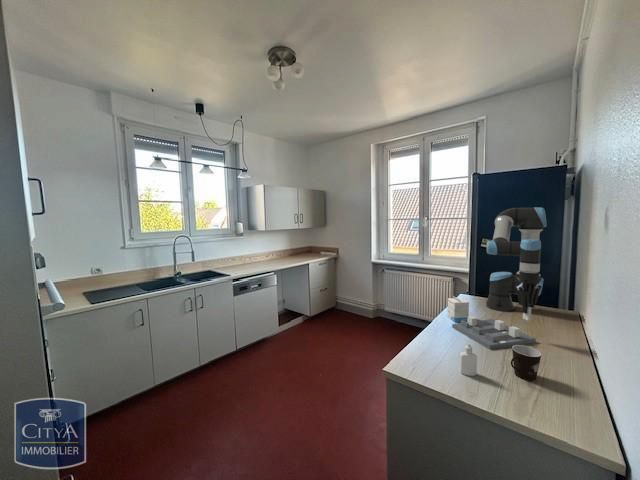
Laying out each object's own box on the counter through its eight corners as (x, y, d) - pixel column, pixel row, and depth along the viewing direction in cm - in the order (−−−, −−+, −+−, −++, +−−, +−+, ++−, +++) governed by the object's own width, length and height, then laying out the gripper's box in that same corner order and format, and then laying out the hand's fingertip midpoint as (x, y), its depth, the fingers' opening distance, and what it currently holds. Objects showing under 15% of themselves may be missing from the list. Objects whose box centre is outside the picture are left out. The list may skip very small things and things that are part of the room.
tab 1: (472, 323, 140) (472, 316, 140) (476, 325, 138) (476, 318, 137) (467, 323, 140) (467, 316, 140) (471, 326, 137) (471, 318, 137)
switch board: (492, 322, 146) (492, 315, 146) (535, 342, 123) (536, 333, 123) (452, 327, 141) (452, 319, 141) (489, 349, 118) (489, 340, 117)
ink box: (468, 322, 148) (469, 299, 146) (454, 322, 148) (454, 299, 147) (461, 316, 156) (461, 294, 155) (447, 316, 156) (447, 295, 155)
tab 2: (499, 327, 135) (499, 320, 134) (504, 329, 132) (504, 322, 131) (494, 328, 134) (494, 320, 134) (499, 330, 131) (499, 322, 131)
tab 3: (513, 334, 127) (514, 326, 126) (519, 336, 124) (519, 328, 124) (508, 334, 126) (509, 326, 126) (514, 337, 123) (514, 329, 123)
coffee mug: (529, 369, 102) (530, 345, 101) (546, 383, 93) (547, 357, 92) (497, 368, 103) (498, 344, 102) (511, 382, 94) (512, 356, 94)
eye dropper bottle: (461, 368, 104) (462, 339, 103) (477, 373, 100) (478, 343, 99) (458, 373, 100) (459, 343, 99) (474, 378, 97) (475, 348, 96)
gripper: (532, 269, 129) (529, 315, 130) (510, 270, 126) (508, 317, 128) (548, 272, 121) (545, 321, 123) (525, 273, 119) (523, 323, 120)
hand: (526, 319), depth 125 cm, fingers closed
